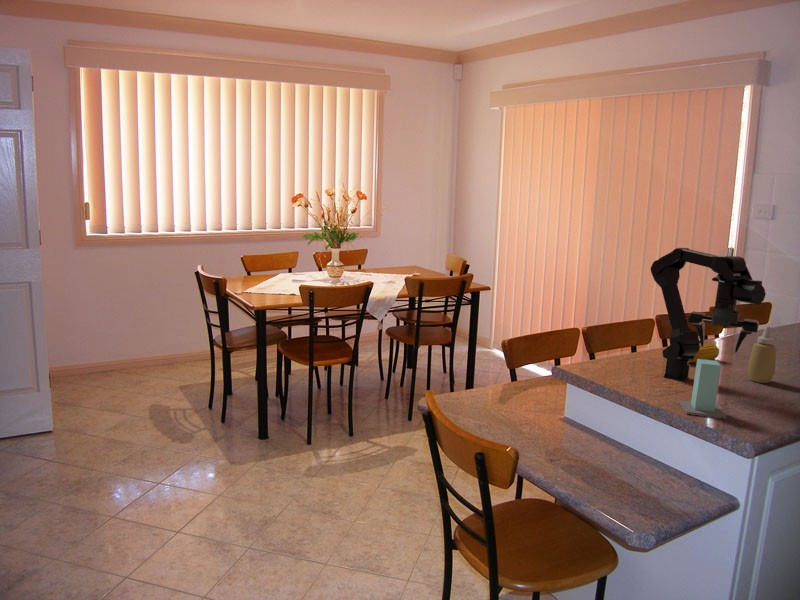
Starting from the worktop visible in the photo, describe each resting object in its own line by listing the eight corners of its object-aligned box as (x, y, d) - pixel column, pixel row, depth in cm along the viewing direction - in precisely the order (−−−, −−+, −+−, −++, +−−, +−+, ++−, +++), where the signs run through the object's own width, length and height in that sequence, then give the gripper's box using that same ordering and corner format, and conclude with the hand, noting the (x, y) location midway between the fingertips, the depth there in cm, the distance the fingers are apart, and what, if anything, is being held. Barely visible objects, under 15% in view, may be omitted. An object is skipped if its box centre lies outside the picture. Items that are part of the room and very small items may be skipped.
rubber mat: (678, 402, 189) (678, 400, 189) (715, 407, 188) (716, 404, 187) (686, 414, 180) (686, 411, 179) (726, 419, 178) (726, 416, 178)
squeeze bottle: (770, 379, 220) (779, 326, 217) (775, 386, 212) (784, 331, 209) (743, 375, 223) (752, 323, 219) (747, 382, 215) (756, 327, 212)
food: (706, 357, 246) (709, 341, 245) (720, 361, 241) (723, 345, 240) (669, 362, 235) (671, 346, 234) (683, 366, 230) (685, 350, 229)
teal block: (690, 403, 186) (697, 358, 184) (709, 406, 185) (716, 360, 183) (694, 409, 182) (701, 363, 179) (714, 412, 181) (721, 365, 178)
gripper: (688, 297, 196) (681, 348, 199) (759, 306, 186) (751, 360, 189) (694, 292, 205) (687, 342, 208) (762, 301, 196) (754, 353, 198)
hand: (718, 349), depth 201 cm, fingers open, 9 cm apart
